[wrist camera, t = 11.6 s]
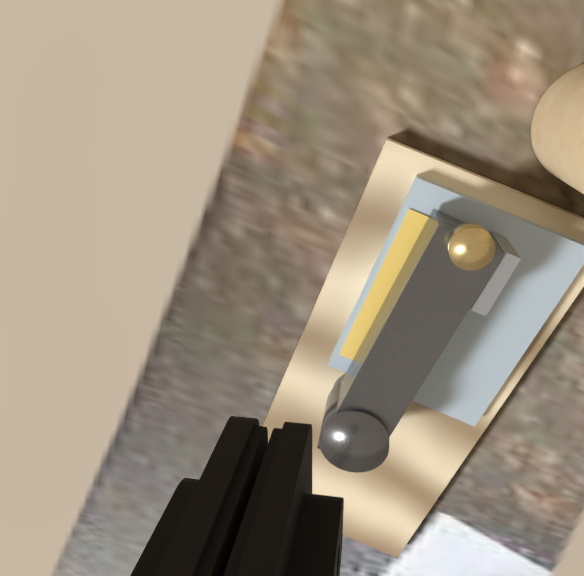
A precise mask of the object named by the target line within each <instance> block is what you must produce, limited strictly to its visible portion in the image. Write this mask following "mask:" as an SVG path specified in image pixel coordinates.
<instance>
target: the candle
mask: <svg viewBox="0 0 584 576" xmlns="http://www.w3.org/2000/svg"><path fill="white" fill-rule="evenodd" d="M531 140H532V145H533V149H534V151H535V154H536V156H537V158H538V160H539V161H540V163H541V164H542V165H543V166H544V168H545V169H546V170H548V171H549V172H550V173H551V174H553V175H554V176H555V177H557V178H559V179H560V180H562V181H563V182H565V183H567V184H568V185H570V186H571V187H573V188H575V189H576V190H578V191H579V192H581V193H583V194H584V64H581V65H579V66H577V67H575V68H573V69H571V70H570V71H568V72H567V73H565V74H564V75H562V76H561V77H560V78H558V79H557V80H556V81H555V82H554V83H553V84H552V85H551V86H550V87H549V88H548V89H547V91H546V92H545V93H544V95H543V96H542V98H541V99H540V101H539V103H538V105H537V107H536V109H535V112H534V115H533V119H532V124H531Z"/></svg>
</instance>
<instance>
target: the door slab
mask: <svg viewBox="0 0 584 576" xmlns="http://www.w3.org/2000/svg"><path fill="white" fill-rule="evenodd" d="M433 208H434V209H436V210H438V211H441V212H443V213H445V214H448V215H450V216H452V217H454V218H457V219H459V220H461V221H464V222H466V223H476V224H479V225H481V226H483V227H484V228H486V229H487V231H488V232H489V233H491V234H492V235H493V237H494V239H495V240H496V242H497V243H498V245H499V247H500V248H501V250H502V251H503V253H504V254H503V256H502V258H501V259H500V261H499V262H498V264H497V266H496V267H495V269H494V270H493V272H492V274H491V275H490V277H489V278H488V280H487V282H486V283H485V285H484V286H483V288H482V290H481V291H480V293H479V294H478V296H477V298H476V299H475V301H474V302H473V304H472V306H471V307H470V309H469V311H468V312H467V314H466V315H465V317H464V319H463V320H462V322H461V323H460V325H459V327H458V328H457V330H456V331H455V333H454V335H453V336H452V338H451V339H450V341H449V343H448V344H447V346H446V347H445V349H444V351H443V352H442V354H441V355H440V357H439V359H438V360H437V362H436V363H435V365H434V367H433V368H432V370H431V371H430V373H429V375H428V376H427V378H426V379H425V381H424V383H423V384H422V386H421V387H420V389H419V391H418V392H417V394H416V396H415V397H414V399H413V400H412V401H415V402H417V403H419V404H422V405H424V406H427V407H429V408H431V409H434V410H436V411H439V412H441V413H443V414H446V415H448V416H451V417H453V418H455V419H458V420H460V421H462V422H465V423H467V424H470V425H472V426H474V427H475V425H476V424H477V422H478V421H479V419H480V418H481V416H482V415H483V413H484V412H485V410H486V409H487V407H488V406H489V404H490V403H491V402H492V400H493V399H494V397H495V396H496V394H497V393H498V391H499V390H500V388H501V387H502V385H503V384H504V382H505V381H506V379H507V378H508V376H509V375H510V373H511V372H512V370H513V369H514V367H515V366H516V364H517V363H518V361H519V360H520V358H521V357H522V355H523V354H524V353H525V351H526V350H527V348H528V347H529V345H530V344H531V342H532V341H533V339H534V338H535V336H536V335H537V333H538V332H539V330H540V329H541V327H542V326H543V324H544V323H545V321H546V320H547V318H548V317H549V315H550V314H551V312H552V311H553V309H554V308H555V306H556V305H557V304H558V302H559V301H560V299H561V298H562V296H563V295H564V293H565V292H566V290H567V289H568V287H569V286H570V284H571V283H572V281H573V280H574V278H575V277H576V275H577V274H578V272H579V271H580V269H581V268H582V266H583V265H584V243H583V242H580V241H578V240H575V239H573V238H570V237H568V236H566V235H563V234H561V233H558V232H556V231H553V230H551V229H548V228H546V227H543V226H541V225H539V224H536V223H534V222H531V221H529V220H526V219H524V218H521V217H519V216H516V215H514V214H512V213H509V212H507V211H504V210H502V209H499V208H497V207H494V206H492V205H489V204H487V203H485V202H482V201H480V200H477V199H475V198H472V197H470V196H467V195H465V194H462V193H460V192H458V191H455V190H453V189H450V188H448V187H445V186H443V185H440V184H438V183H435V182H433V181H431V180H428V179H426V178H423V177H421V176H418V175H416V176H415V179H414V181H413V183H412V185H411V187H410V189H409V191H408V193H407V196H406V198H405V200H404V202H403V204H402V206H401V208H400V210H399V212H398V215H397V217H396V219H395V221H394V223H393V225H392V227H391V229H390V232H389V234H388V236H387V238H386V240H385V242H384V244H383V246H382V248H381V251H380V253H379V255H378V257H377V259H376V261H375V263H374V265H373V268H372V270H371V272H370V274H369V276H368V278H367V280H366V282H365V284H364V287H363V289H362V291H361V293H360V295H359V297H358V299H357V301H356V303H355V306H354V308H353V310H352V312H351V314H350V316H349V318H348V320H347V323H346V325H345V327H344V329H343V331H342V333H341V335H340V337H339V339H338V342H337V344H336V346H335V348H334V350H333V352H332V354H331V356H330V359H329V363H328V366H331V367H333V368H336V369H338V370H340V371H343V372H345V373H346V372H347V370H348V368H349V366H350V364H351V362H352V361H353V359H354V357H355V355H356V353H357V351H358V349H359V347H360V346H361V344H362V342H363V340H364V338H365V336H366V334H367V332H368V331H369V329H370V327H371V325H372V323H373V321H374V319H375V317H376V315H377V314H378V312H379V310H380V308H381V306H382V304H383V302H384V300H385V299H386V297H387V295H388V293H389V291H390V289H391V287H392V285H393V284H394V282H395V280H396V278H397V276H398V274H399V272H400V270H401V269H402V267H403V265H404V263H405V261H406V259H407V257H408V255H409V254H410V252H411V250H412V248H413V246H414V244H415V242H416V240H417V239H418V237H419V235H420V233H421V231H422V229H423V227H424V225H425V224H426V222H427V220H428V218H429V216H430V214H431V212H432V210H433Z"/></svg>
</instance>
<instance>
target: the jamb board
mask: <svg viewBox="0 0 584 576" xmlns="http://www.w3.org/2000/svg"><path fill="white" fill-rule="evenodd" d="M416 175H418V176H421V177H423V178H426V179H428V180H431V181H433V182H435V183H438V184H440V185H443V186H445V187H448V188H450V189H453V190H455V191H458V192H460V193H462V194H465V195H467V196H470V197H472V198H475V199H477V200H480V201H482V202H485V203H487V204H489V205H492V206H494V207H497V208H499V209H502V210H504V211H507V212H509V213H512V214H514V215H516V216H519V217H521V218H524V219H526V220H529V221H531V222H534V223H536V224H539V225H541V226H543V227H546V228H548V229H551V230H553V231H556V232H558V233H561V234H563V235H566V236H568V237H570V238H573V239H575V240H578V241H580V242H583V243H584V217H582V216H579V215H577V214H575V213H572V212H570V211H567V210H565V209H562V208H560V207H557V206H555V205H552V204H550V203H547V202H545V201H543V200H540V199H538V198H535V197H533V196H530V195H528V194H525V193H523V192H520V191H518V190H515V189H513V188H510V187H508V186H506V185H503V184H501V183H498V182H496V181H493V180H491V179H488V178H486V177H483V176H481V175H478V174H476V173H474V172H471V171H469V170H466V169H464V168H461V167H459V166H456V165H454V164H451V163H449V162H446V161H444V160H442V159H439V158H437V157H434V156H432V155H429V154H427V153H424V152H422V151H419V150H417V149H414V148H412V147H410V146H407V145H405V144H402V143H400V142H397V141H395V140H392V139H390V138H387V139H386V142H385V144H384V146H383V149H382V151H381V153H380V155H379V158H378V160H377V162H376V165H375V167H374V169H373V172H372V174H371V176H370V179H369V181H368V183H367V185H366V188H365V190H364V192H363V195H362V197H361V199H360V202H359V204H358V206H357V209H356V211H355V213H354V216H353V218H352V220H351V222H350V225H349V227H348V229H347V232H346V234H345V236H344V239H343V241H342V243H341V246H340V248H339V250H338V253H337V255H336V257H335V259H334V262H333V264H332V266H331V269H330V271H329V273H328V276H327V278H326V280H325V283H324V285H323V287H322V289H321V292H320V294H319V296H318V299H317V301H316V303H315V306H314V308H313V310H312V313H311V315H310V317H309V320H308V322H307V324H306V326H305V329H304V331H303V333H302V336H301V338H300V340H299V343H298V345H297V347H296V350H295V352H294V354H293V357H292V359H291V361H290V363H289V366H288V368H287V370H286V373H285V375H284V377H283V380H282V382H281V384H280V387H279V389H278V391H277V394H276V396H275V398H274V400H273V403H272V405H271V407H270V410H269V412H268V414H267V417H266V419H265V421H264V424H263V426H262V427H267V430H268V442H269V439H270V437H271V434H272V431H273V429H274V428H281V429H282V427H283V424H284V422H295V423H305V424H311V425H312V494H318V495H326V496H334V497H342V498H344V510H343V535H345V536H347V537H350V538H352V539H354V540H357V541H359V542H361V543H364V544H366V545H368V546H371V547H373V548H375V549H378V550H380V551H382V552H385V553H387V554H389V555H392V556H394V557H396V558H397V557H398V556H399V554H400V553H401V551H402V550H403V548H404V547H405V545H406V544H407V543H408V541H409V540H410V538H411V537H412V535H413V534H414V532H415V531H416V529H417V528H418V527H419V525H420V524H421V522H422V521H423V519H424V518H425V516H426V515H427V513H428V512H429V511H430V509H431V508H432V506H433V505H434V503H435V502H436V500H437V499H438V497H439V496H440V495H441V493H442V492H443V490H444V489H445V487H446V486H447V484H448V483H449V482H450V480H451V479H452V477H453V476H454V474H455V473H456V471H457V470H458V468H459V467H460V466H461V464H462V463H463V461H464V460H465V458H466V457H467V455H468V454H469V452H470V451H471V450H472V448H473V447H474V445H475V444H476V442H477V441H478V439H479V438H480V436H481V435H482V434H483V432H484V431H485V429H486V428H487V426H488V425H489V423H490V422H491V420H492V419H493V418H494V416H495V415H496V413H497V412H498V410H499V409H500V407H501V406H502V404H503V403H504V402H505V400H506V399H507V397H508V396H509V394H510V393H511V391H512V390H513V388H514V387H515V386H516V384H517V383H518V381H519V380H520V378H521V377H522V375H523V374H524V372H525V371H526V370H527V368H528V367H529V365H530V364H531V362H532V361H533V359H534V358H535V356H536V355H537V354H538V352H539V351H540V349H541V348H542V346H543V345H544V343H545V342H546V340H547V339H548V338H549V336H550V335H551V333H552V332H553V330H554V329H555V327H556V326H557V324H558V323H559V322H560V320H561V319H562V317H563V316H564V314H565V313H566V311H567V310H568V309H569V307H570V306H571V304H572V303H573V301H574V300H575V298H576V297H577V295H578V294H579V293H580V291H581V290H582V288H583V287H584V265H583V266H582V268H581V269H580V271H579V272H578V274H577V275H576V277H575V278H574V280H573V281H572V283H571V284H570V286H569V287H568V289H567V290H566V292H565V293H564V295H563V296H562V298H561V299H560V301H559V302H558V304H557V305H556V306H555V308H554V309H553V311H552V312H551V314H550V315H549V317H548V318H547V320H546V321H545V323H544V324H543V326H542V327H541V329H540V330H539V332H538V333H537V335H536V336H535V338H534V339H533V341H532V342H531V344H530V345H529V347H528V348H527V350H526V351H525V353H524V354H523V355H522V357H521V358H520V360H519V361H518V363H517V364H516V366H515V367H514V369H513V370H512V372H511V373H510V375H509V376H508V378H507V379H506V381H505V382H504V384H503V385H502V387H501V388H500V390H499V391H498V393H497V394H496V396H495V397H494V399H493V400H492V402H491V403H490V404H489V406H488V407H487V409H486V410H485V412H484V413H483V415H482V416H481V418H480V419H479V421H478V422H477V424H476V425H475V427H474V426H472V425H470V424H467V423H465V422H462V421H460V420H458V419H455V418H453V417H451V416H448V415H446V414H443V413H441V412H439V411H436V410H434V409H431V408H429V407H427V406H424V405H422V404H419V403H417V402H415V401H412V402H411V404H410V405H409V407H408V408H407V410H406V412H405V413H404V415H403V416H402V418H401V420H400V421H399V423H398V424H397V426H396V428H395V429H394V431H393V432H392V434H391V436H390V437H389V453H388V456H387V458H386V459H385V461H384V462H383V463H382V464H381V465H380V466H378V467H377V468H375V469H373V470H371V471H367V472H360V473H356V472H348V471H344V470H342V469H339V468H337V467H335V466H334V465H332V464H331V463H330V462H329V461H328V460H327V459H326V458H325V457H324V455H323V454H322V452H321V450H320V449H318V448H317V446H318V441H319V436H320V431H321V426H322V421H323V416H324V412H325V407H326V402H327V398H328V395H329V393H330V391H331V390H332V389H333V386H334V383H335V382H336V380H337V379H338V378H339V377H340V376H342V375H343V374H345V372H343V371H340V370H338V369H336V368H333V367H331V366H328V363H329V359H330V356H331V354H332V352H333V350H334V348H335V346H336V344H337V342H338V339H339V337H340V335H341V333H342V331H343V329H344V327H345V325H346V323H347V320H348V318H349V316H350V314H351V312H352V310H353V308H354V306H355V303H356V301H357V299H358V297H359V295H360V293H361V291H362V289H363V287H364V284H365V282H366V280H367V278H368V276H369V274H370V272H371V270H372V268H373V265H374V263H375V261H376V259H377V257H378V255H379V253H380V251H381V248H382V246H383V244H384V242H385V240H386V238H387V236H388V234H389V232H390V229H391V227H392V225H393V223H394V221H395V219H396V217H397V215H398V212H399V210H400V208H401V206H402V204H403V202H404V200H405V198H406V196H407V193H408V191H409V189H410V187H411V185H412V183H413V181H414V179H415V176H416Z"/></svg>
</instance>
